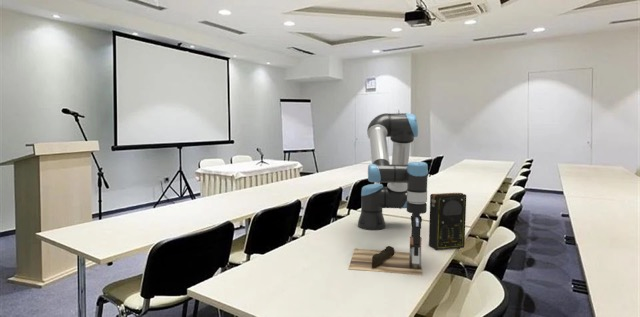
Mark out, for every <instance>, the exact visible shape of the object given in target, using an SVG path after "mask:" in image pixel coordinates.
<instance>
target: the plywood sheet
mask: <svg viewBox="0 0 640 317" xmlns="http://www.w3.org/2000/svg"><path fill="white" fill-rule="evenodd" d="M381 251H382V250H380V249H379V250H377V249H376V250H375V249H364V248H363V249H362V248H354V250H353V252H352V256H351V259H350V263H349V264H348V268H347V269H348V270H350V271H352V270H353V271H363V272H375V273H388V274H399V275H411V276H413V275H414V276H424V273H423V269H422V267H421V269H417V270H415V269H411V268H409V255H410V252H407V251H395V252H394V253H395V254H394V255H393V256H392V255H391V256H389V257H388V258H387V259H385V260H384V261H382V262H381V264H380V266H377V267H375V268H372V257H373V255H375V254H376V253H377V254H379V253H380V252H381Z"/></svg>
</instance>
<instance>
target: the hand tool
mask: <svg viewBox="0 0 640 317" xmlns="http://www.w3.org/2000/svg"><path fill="white" fill-rule="evenodd" d="M380 251H381V252H380V253H379V254H377V253H376V254H375V255H373V257H372V268H375V267H377V266H380V264H381V262H382V261H384V260H385V259H387V258H388V257H389V256H391V255H392V256H393V255H394V254H395V253H394V252H396V251H395V248H394V246H390V245H387V246H385V248H384V249H383V250H380Z"/></svg>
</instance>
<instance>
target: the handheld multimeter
mask: <svg viewBox="0 0 640 317" xmlns="http://www.w3.org/2000/svg"><path fill="white" fill-rule="evenodd" d="M429 196H430V197H429V199H430V200H429V222H428V223H429V225H428V226H429V227H428V229H429V230H428V232H429V233H428V246H430V247H431V248H434V250H435V251H440V250H441V251H442V250H443V251H444V250H450V249H451V250H452V249H463V248H464V247H465V242H466V241H465V240H466V239H465V237H466V218H467V217H466V216H467V194H465V193H463V192H447V193H430V195H429Z"/></svg>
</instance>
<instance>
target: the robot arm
mask: <svg viewBox="0 0 640 317" xmlns="http://www.w3.org/2000/svg"><path fill="white" fill-rule="evenodd" d="M418 136H419V127H418V120H417V116H416V115H415V114H414V113H408V112H405V113H401V112H400V113H397V112H396V113H381V114H378V115H376V116H375V117H374V118H372V120H371V121H370V122H369V124H368V126H367V137H368V139H369V143H370V155H371V156H370V158H371V159H370V160H371V164H369V165H367V181H368V182H370V183H371V184H367V185H364V186H362V187H361V192H360V193H361V194H360V196H361V198H360V200H361V204H360V206H361V207H360V215H359V218H358V220H357V227H358V228H360V229H361V230H370V231H374V230H375V231H378V230H383V229H385V228H386V221H385V218H384V214H383V209H400V210H401V209H406V211H407V213H409V214H411V215H410V221H411V222H410V225H411V235H410V236H413V245H411V247H412V263H414V264H419V261H420V237H421V229H422V222H423V218H422V216H421V215H423V214H426V213H427V211H428V210H427V209H428V208H427V207H428V206H427V202H428V177H429V176H428V175H429V170H428V167H429V166H428V163H427V162H424V161H423V162H422V161H411V162H409V161H410V160H409V159H410V150H411V144H412V143H413V142H414V141H415V140H414V139H415V138H418ZM387 138H390V141H391V142H392V154H391V162H390V157H389V150H388V142H387ZM382 183H384V184H385V183H387V186H384V185H383V184H382Z"/></svg>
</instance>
